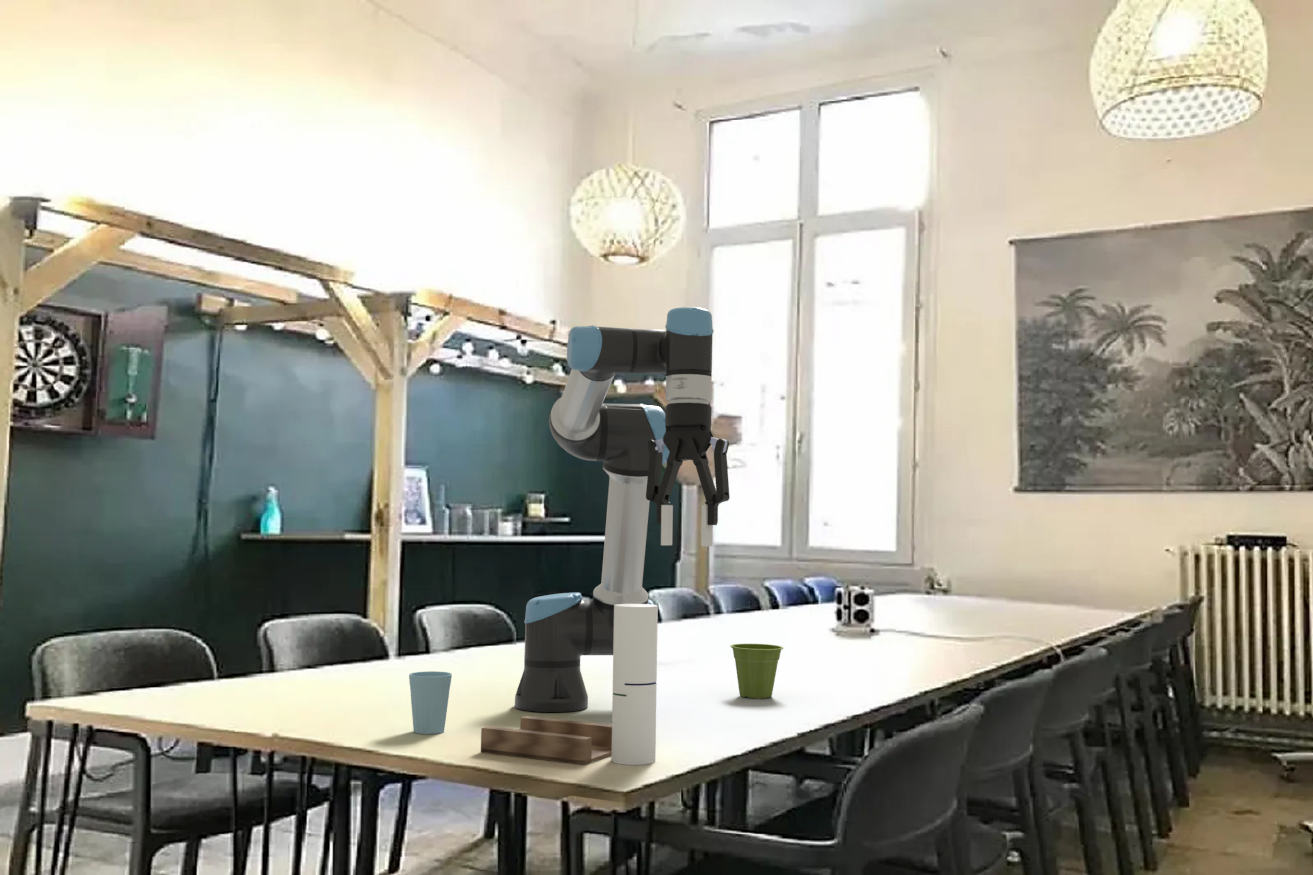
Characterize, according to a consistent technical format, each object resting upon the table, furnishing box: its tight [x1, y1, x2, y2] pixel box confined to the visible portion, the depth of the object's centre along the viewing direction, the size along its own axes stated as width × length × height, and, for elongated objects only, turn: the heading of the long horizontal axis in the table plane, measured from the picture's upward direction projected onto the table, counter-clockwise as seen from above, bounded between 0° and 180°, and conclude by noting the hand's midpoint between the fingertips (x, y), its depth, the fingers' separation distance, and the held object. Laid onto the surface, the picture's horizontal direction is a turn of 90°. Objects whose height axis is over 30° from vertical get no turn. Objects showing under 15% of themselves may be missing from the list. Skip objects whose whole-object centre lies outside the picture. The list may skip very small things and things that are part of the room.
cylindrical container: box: [610, 604, 659, 766], centre depth 193 cm, size 7×7×25 cm
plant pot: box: [730, 643, 784, 700], centre depth 265 cm, size 12×12×11 cm
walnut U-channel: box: [480, 715, 612, 766], centre depth 199 cm, size 20×14×4 cm
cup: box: [408, 670, 453, 735], centre depth 215 cm, size 8×8×10 cm
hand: (686, 545), depth 190 cm, fingers open, 6 cm apart
